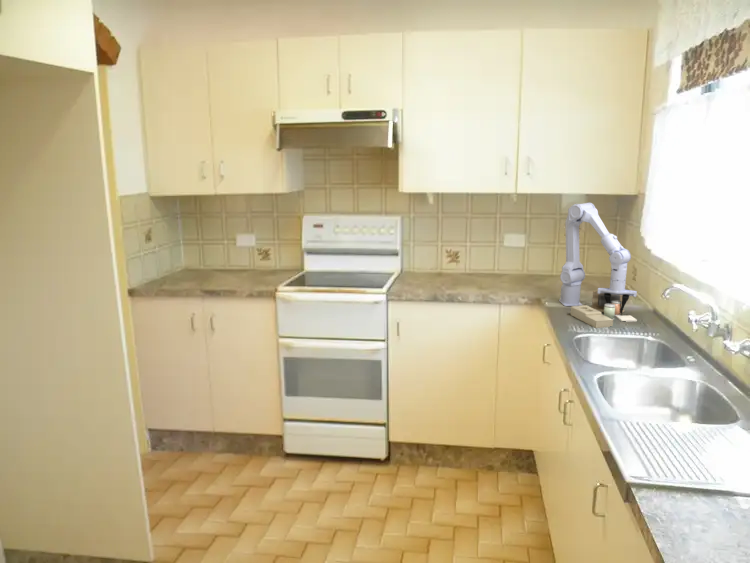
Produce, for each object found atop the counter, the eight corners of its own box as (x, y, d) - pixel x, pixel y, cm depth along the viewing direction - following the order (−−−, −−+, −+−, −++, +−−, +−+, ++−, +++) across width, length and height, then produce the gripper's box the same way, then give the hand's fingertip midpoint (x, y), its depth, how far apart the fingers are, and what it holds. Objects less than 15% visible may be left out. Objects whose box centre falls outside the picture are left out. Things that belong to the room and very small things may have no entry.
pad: (615, 317, 233) (615, 315, 233) (630, 316, 233) (630, 315, 233) (621, 321, 227) (621, 320, 227) (637, 321, 227) (637, 319, 227)
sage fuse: (601, 317, 232) (603, 303, 231) (611, 317, 232) (613, 303, 231) (605, 320, 228) (606, 306, 227) (615, 320, 228) (617, 306, 227)
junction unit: (590, 308, 244) (592, 290, 242) (619, 308, 244) (621, 290, 242) (595, 312, 240) (596, 293, 238) (624, 312, 239) (626, 293, 237)
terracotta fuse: (608, 313, 237) (609, 299, 236) (618, 313, 237) (619, 299, 236) (611, 316, 233) (612, 302, 232) (621, 316, 233) (623, 302, 232)
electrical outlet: (596, 318, 219) (570, 306, 236) (595, 329, 220) (570, 315, 237) (613, 317, 220) (586, 304, 238) (612, 327, 221) (585, 314, 238)
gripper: (638, 278, 232) (634, 311, 236) (599, 275, 238) (596, 307, 241) (637, 282, 226) (634, 315, 229) (598, 279, 232) (595, 311, 235)
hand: (615, 311), depth 235 cm, fingers closed on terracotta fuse, 4 cm apart
